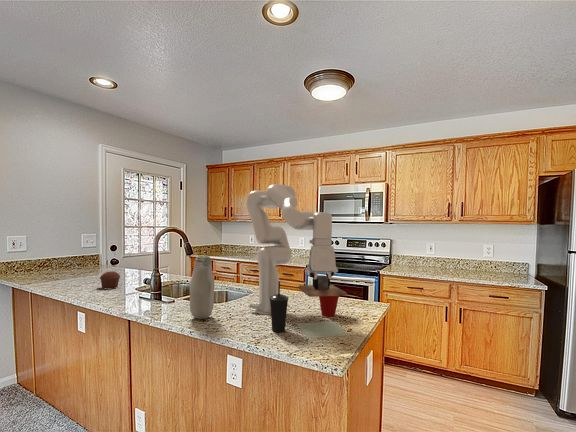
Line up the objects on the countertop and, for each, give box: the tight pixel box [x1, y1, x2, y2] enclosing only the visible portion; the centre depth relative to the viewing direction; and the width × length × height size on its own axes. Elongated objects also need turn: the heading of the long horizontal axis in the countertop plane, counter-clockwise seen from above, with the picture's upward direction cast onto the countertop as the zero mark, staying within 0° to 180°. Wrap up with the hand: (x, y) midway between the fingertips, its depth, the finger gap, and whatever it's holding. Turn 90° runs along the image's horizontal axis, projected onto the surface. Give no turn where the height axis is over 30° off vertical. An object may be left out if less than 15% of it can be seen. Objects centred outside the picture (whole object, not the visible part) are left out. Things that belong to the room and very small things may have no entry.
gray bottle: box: [189, 254, 215, 320], centre depth 133 cm, size 10×10×28 cm
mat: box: [296, 320, 349, 339], centre depth 119 cm, size 16×16×1 cm
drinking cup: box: [269, 280, 289, 334], centre depth 117 cm, size 8×8×20 cm
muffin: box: [99, 270, 121, 289], centre depth 191 cm, size 12×11×10 cm
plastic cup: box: [318, 296, 340, 318], centre depth 138 cm, size 11×11×12 cm
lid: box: [297, 274, 348, 298], centre depth 119 cm, size 15×15×6 cm
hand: (321, 288), depth 119 cm, fingers closed on lid, 4 cm apart
